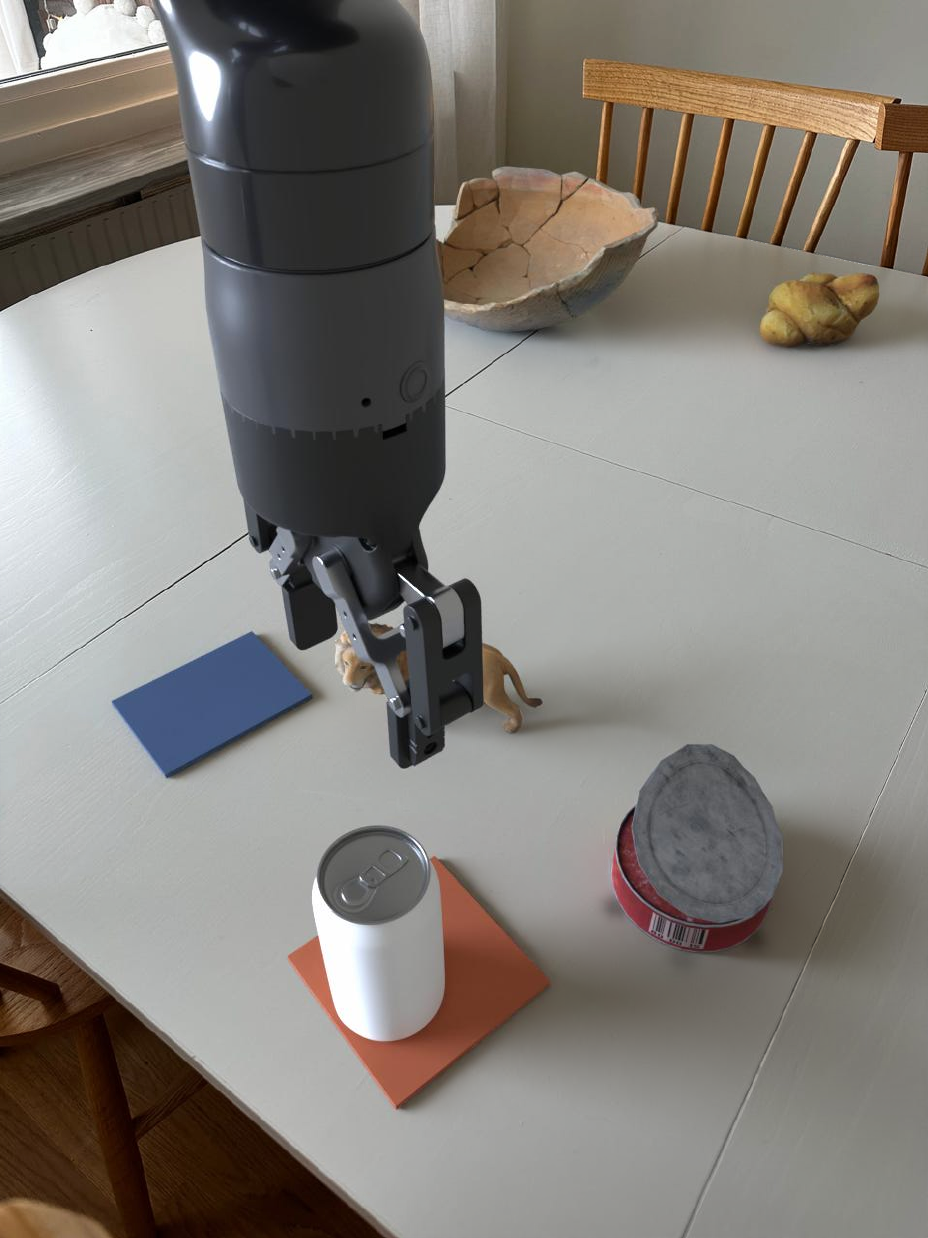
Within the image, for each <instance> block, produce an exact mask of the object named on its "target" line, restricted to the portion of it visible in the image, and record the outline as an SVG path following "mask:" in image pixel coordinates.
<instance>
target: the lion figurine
mask: <svg viewBox="0 0 928 1238" xmlns="http://www.w3.org/2000/svg"><path fill="white" fill-rule="evenodd" d="M368 623H369V625H370V627H371V630H372V632H373V634H374V635H375V636H376V637H377V636H380V635H382V634H384V633H386V632H388V631H390V630H392V629H394V628H395V627H393V626H388V624H386V623H383V624H380V623H378V622H374V623H370V622H368ZM334 645H335V654H334V660H335V661H334V666H335V667H334V668H336V669H337V671H338V672H339V673H340V675H341V676H343V678H342V683H343V684H344V685H345V686H348V688H349V689H350V691H352V692H355V693H357V692H360V691H361V690H362V689H364V690H365V689H368V690H369V691H370V692H371V693H373V694H375V695H386V694H385V692H384V689H383V687H382V685H381V682H380V680H379V677H378V675H377V672H376V670H375V667H374V666H373V665H372V664H371V663H366V662H362V661H360V660H359V659H358V658H357V656H356V654H355V651H354V649H353V646H352V644H351V642H350V639H349V637H348V634H347V632H346V629H344V630H343V632H342V633H341V634H340V637H339V638H336V639H335V640H334ZM482 653H483V695H484V703H485V704H486V705H488V706H489V707H490V708H492V709H494V710H496V711H498V712H500V713H501V714H503V715H505V716H507V717H508V718H507V719H505V720H504V721H503V723H502V727H503V728H504V730H505V731H506V732H507V733H509V734H515V733H517V732H519V731H520V730H521V728H522V724H523V715H522V711H521V708H520V705H518V704H517V703H516V702H514V701H512V699H510V697H509V695H508V693H507V692H506V689H505V676H506V675H507V676H508V677H509V678H510V681H511V683H512V686H513V687H514V689H515V692H516V694H517V696H518V698H519V699H520V701H521V702H522V703H524V704H525V705H526V706H528V707H531V708H534V709H535V708H538V707H540V706H542V705H543V704H544V701H543V699H542V698H540V697H528V696H527V693H526V691H525V689H524V685H523V682H522V679H521V677H520V675H519V673H518V671H517V669H516V668H515V666H514V665H513V663H512V662H511V661H510V660H509V659H508V658H507V657H506V656H504V655H503V653H502V651H500V650H499V649H497V648H496V647H494V646H493V645H490V644H488V643H484V642H482ZM397 664H398V667H399V669H400V672H401V674H402V676H403V679H404V680H406V679H408V678H409V671H408V660H407V650H405V651H403V652H401V653H400V654H399V655H398V656H397ZM454 680H455V679H454Z"/></svg>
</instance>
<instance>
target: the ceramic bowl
mask: <svg viewBox="0 0 928 1238" xmlns="http://www.w3.org/2000/svg"><path fill="white" fill-rule="evenodd" d="M491 173H492V174H491V175H492V178H489V177H475V178H473V179H470V180H467V181H463V182H462V184H461V185H460V188H459V192H458V195H457V199H456V203H455V205H454V207H453V209H452V219H451V220H450V224H449V229H448V230H447V234H446V235H445V236H444V237H443V242H442V241H441V240H439V239H437V238H436V242H437V250H438V257H439V263H440V269H441V275H442V283H443V291H444V317H446V318H449V319H450V320H453V321H455V322H458V323H461V324H464V325H467V326H469V327H470V326H471V327H474V328H478V329H481V330H488V331H494V332H500V333H512V332H522V331H529V330H541V329H544V328H547V327H553V326H556V325H560V324H562V323H565V322H568V321H570V320H571V319H573V318H576V317H578V316H581V315H583V314H584V313H587V312H588V311H589V310H591V309H593V308H595V307H597V306H598V305H599V304H600V303H602V302H604V301H605V300H606V299H607V298H608V297H610V296H611V295H612V294H613V293H614V292H615V291H616V290H617V289H618V288H619V287H620V286H621V285H622V284H623V283H624V282H625V280H626V279H627V277H628V275H629V274H630V273H631V271H632V270H633V268H634V266H635V265H636V263H637V262H638V260H639V259H640V256H641V255H642V251H643V249H644V247H645V245H646V243H647V239H648V237H649V236H650V235H651V234H652V233H653V232H654V231H655V230H656V229H657V228H658V226H659V222H658V218H659V216H660V212H659V210H658V209H657V208H656V207H653V206H652V207H647V208H645V207H643V206H642V204H641V201H640V199H639V198H638V197H637V196H636V195H635V194H634V193H632V192H627V191H626V192H625V191H624V192H623V191H620V190H617V189H615V188H614V187H611V186H609V185H607V184H606V183H603V182H601V181H599V180H598V179H594V178H591V177H589V176H587V175H585V174H584V173H581V172H578V171H572V172H571V171H570V172H566V173H563V174H558V173H555V172H554V171H551V170H549V169H542V168H534V167H533V168H532V167H520V166H519V167H517V166H500V167H497V168H495V169H494V170H492V171H491Z"/></svg>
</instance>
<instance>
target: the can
mask: <svg viewBox="0 0 928 1238" xmlns="http://www.w3.org/2000/svg"><path fill="white" fill-rule="evenodd" d="M311 894H312V895H311V903H312V910H313V916H314V920H315V925H316V930H317V936H318V935H319V940H320V945H321V949H322V954H323V958H324V963H325V967H326V972H327V976H328V981H329V985H330V990H331V994H332V998H333V1002H334V1005H335V1008H336V1011H337V1013H338V1015H339V1017H340V1019H341V1020H342V1021H343V1023H344V1024H345V1025H346V1026H347V1027H349V1028H350V1029H351V1030H353V1031H354V1032H356V1033H357V1034H359V1035H361V1036H363V1037H365V1038H368V1039H371V1040H375V1041H395V1040H400V1039H403V1038H406V1037H409V1036H411V1035H413V1034H415V1033H417V1032H418V1031H420V1030H421V1029H422V1028H424V1027H425V1026H426V1025H427V1024H428V1023H429V1022H430V1021H431V1020H432V1018H433V1017H434V1016H435V1014H436V1013H437V1011H438V1009H439V1007H440V1005H441V1002H442V999H443V995H444V989H445V969H444V947H443V928H442V911H441V895H440V885H439V879H438V876H437V872H436V870H435V867H434V865H433V864H432V862H431V861H430V858H429V855H428V854H427V851H426V849H425V847H423V845H422V844H421V842H419V840H417V838H415V837H414V836H413V835H411V834H410V833H408V832H406V831H405V830H402V829H400V828H397V827H394V826H391V825H383V824H382V825H381V824H377V825H366V826H362V827H358V828H355V829H352V830H350V831H348V832H346V833H344V834H342V835H340V836H339V837H338V838H337V839H336V840H335V841H333V842H332V843H331V844H330V845H329V846H328V847H327V849H326V850H325V851H324V853H323V855H322V856H321V858H320V860H319V862H318V866H317V869H316V876H315V878H314V881H313V885H312V893H311Z"/></svg>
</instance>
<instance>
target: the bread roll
mask: <svg viewBox="0 0 928 1238" xmlns="http://www.w3.org/2000/svg"><path fill="white" fill-rule="evenodd" d="M879 298H880V285H879V282H878V278H877V277H876V276H875V275H874V274H870V273H863V272H860V273H859V272H858V273H850V274H845V275H841V276H839V277H838V276H836V275H834V274H832V273H819V272H817V273H815V272H813V271H812V272H810V273H808V274H807V275H806V276H804V277H803V278H801V279H799V280H798V279H797V280H796V279H789V280H786V281H784V282H782V283H780V284H777V285H776V286H775V287H774V288H773V289H772V290H771V292H770V294H769V296H768V306H767V308H766V309H765V314H764V316H763V317H761V322H760V325H759V328H758V329H759V333H760V337H761V338H762V339H763V341H764V342H766V343H767V344H769V345H772V346H775V347H779V348H786V349H789V348H790V349H791V348H796V347H800V346H802V345H805V344H808V345H811V346H833V345H834V346H835V345H837V344H840V343H842V342H845V341H847V340H848V339H850V338H851V337H852V336H853V335H854V333H855V331H856V329H857V327H858V326H859V325H860V324H861V322H862V320H864V319H866V318H867V317H869V316H871V314H872V313H873V312H874V310H875V309H876V307H877V305H878V302H879Z"/></svg>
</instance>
